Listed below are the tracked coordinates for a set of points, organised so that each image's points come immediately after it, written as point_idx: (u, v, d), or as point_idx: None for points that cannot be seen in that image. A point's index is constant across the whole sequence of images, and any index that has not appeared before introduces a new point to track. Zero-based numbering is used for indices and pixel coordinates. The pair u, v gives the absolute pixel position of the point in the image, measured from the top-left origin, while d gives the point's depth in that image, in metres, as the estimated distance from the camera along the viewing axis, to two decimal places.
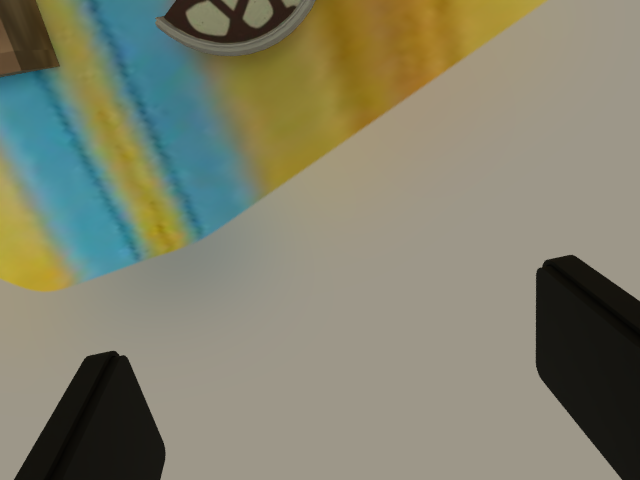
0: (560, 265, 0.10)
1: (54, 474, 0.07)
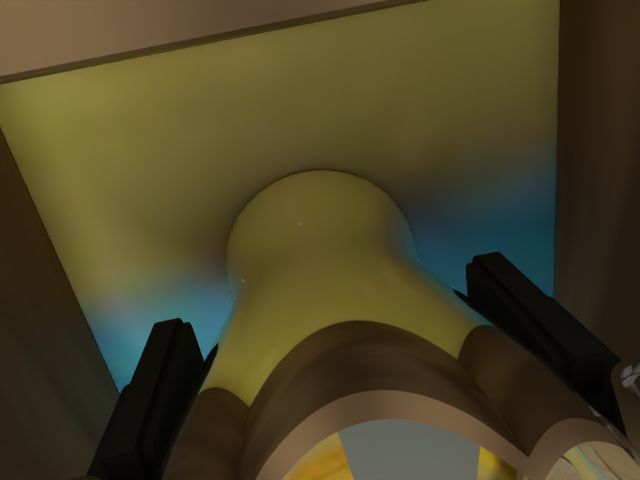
0: (484, 261, 0.10)
1: (149, 418, 0.08)
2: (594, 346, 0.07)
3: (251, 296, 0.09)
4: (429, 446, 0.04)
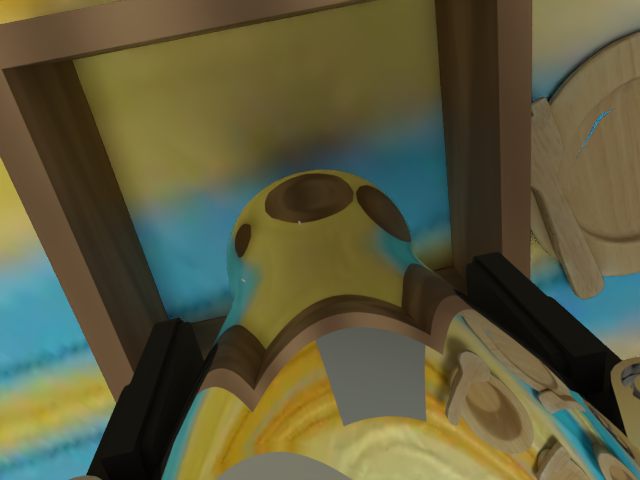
0: (484, 261, 0.10)
1: (149, 418, 0.08)
2: (594, 346, 0.07)
3: (251, 295, 0.09)
4: (428, 443, 0.04)
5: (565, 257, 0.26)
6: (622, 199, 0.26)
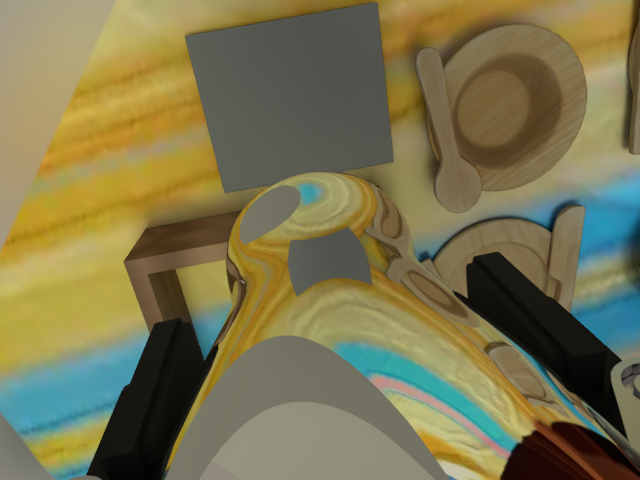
0: (484, 261, 0.10)
1: (149, 418, 0.08)
2: (594, 346, 0.07)
3: (251, 297, 0.09)
4: (428, 448, 0.04)
5: None
6: None
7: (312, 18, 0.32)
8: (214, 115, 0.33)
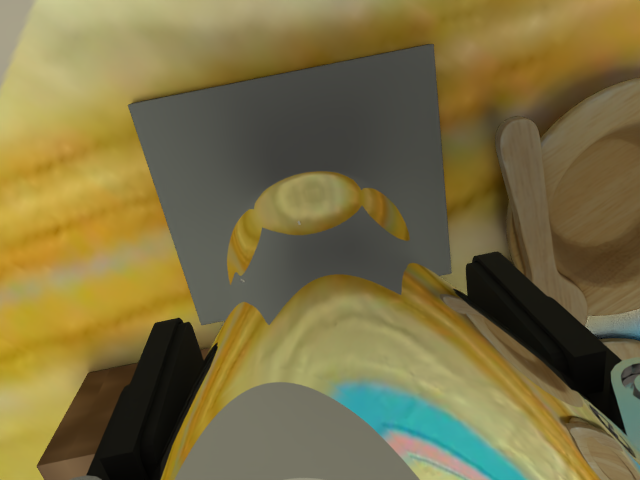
0: (484, 261, 0.10)
1: (149, 418, 0.08)
2: (594, 346, 0.07)
3: (251, 295, 0.09)
4: (430, 445, 0.04)
5: None
6: None
7: (330, 72, 0.20)
8: (181, 219, 0.22)
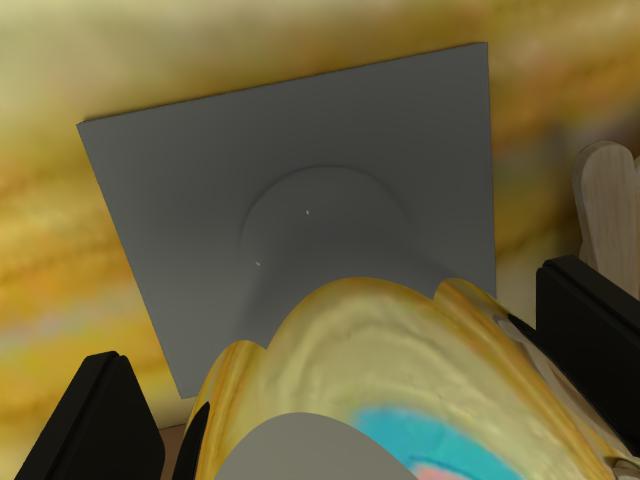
0: (560, 265, 0.10)
1: (54, 474, 0.07)
2: None
3: (267, 272, 0.10)
4: (413, 359, 0.05)
5: None
6: None
7: (349, 79, 0.15)
8: (152, 271, 0.17)
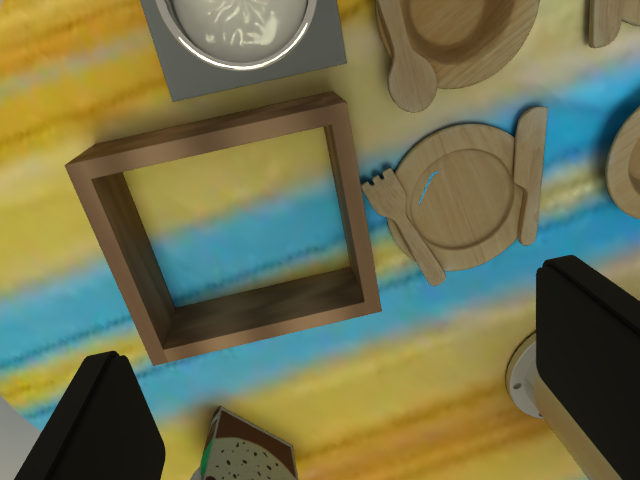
0: (560, 265, 0.10)
1: (54, 474, 0.07)
2: None
3: None
4: None
5: (417, 260, 0.41)
6: (454, 223, 0.42)
7: None
8: (154, 14, 0.32)
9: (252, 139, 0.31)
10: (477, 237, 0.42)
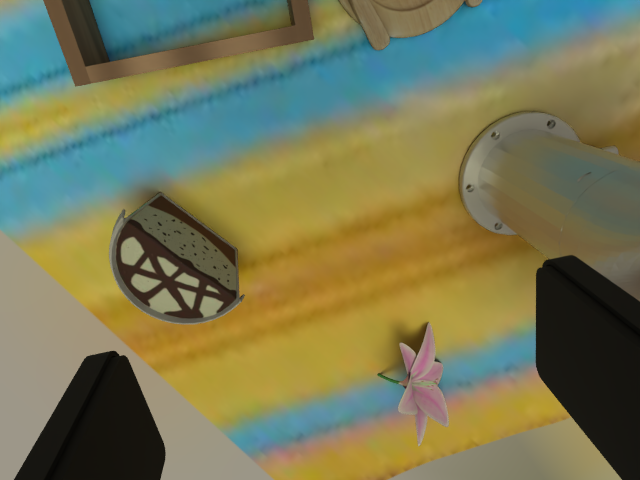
0: (560, 265, 0.10)
1: (54, 474, 0.07)
2: None
3: None
4: None
5: (359, 15, 0.40)
6: None
7: None
8: None
9: None
10: (423, 1, 0.41)
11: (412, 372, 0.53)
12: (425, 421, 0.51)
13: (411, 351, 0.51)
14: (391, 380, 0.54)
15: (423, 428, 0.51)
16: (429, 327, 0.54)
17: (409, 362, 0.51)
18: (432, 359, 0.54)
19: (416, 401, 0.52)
